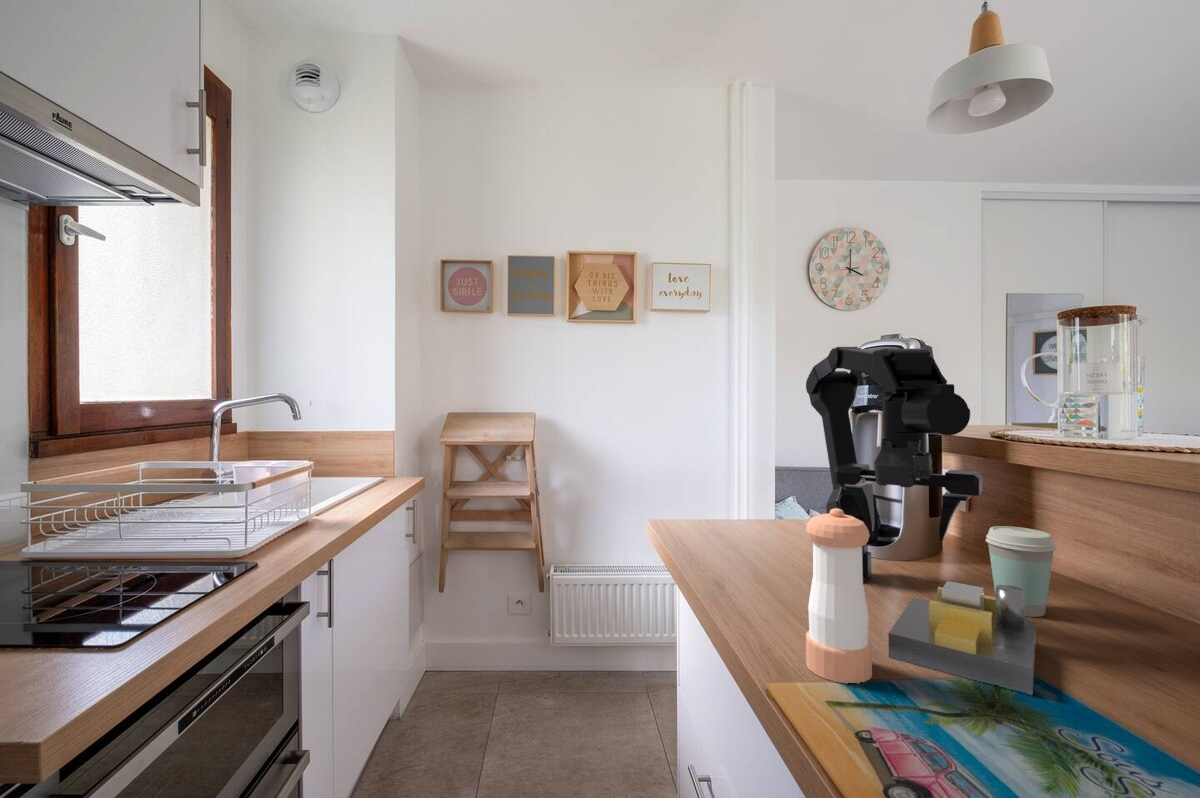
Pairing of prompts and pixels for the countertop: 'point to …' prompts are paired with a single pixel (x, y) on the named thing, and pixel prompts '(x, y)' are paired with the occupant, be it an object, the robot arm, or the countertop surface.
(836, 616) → the salt shaker
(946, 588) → the grey rectangular block
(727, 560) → the countertop surface
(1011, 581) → the coffee cup
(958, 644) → the gray yellow fixture base
